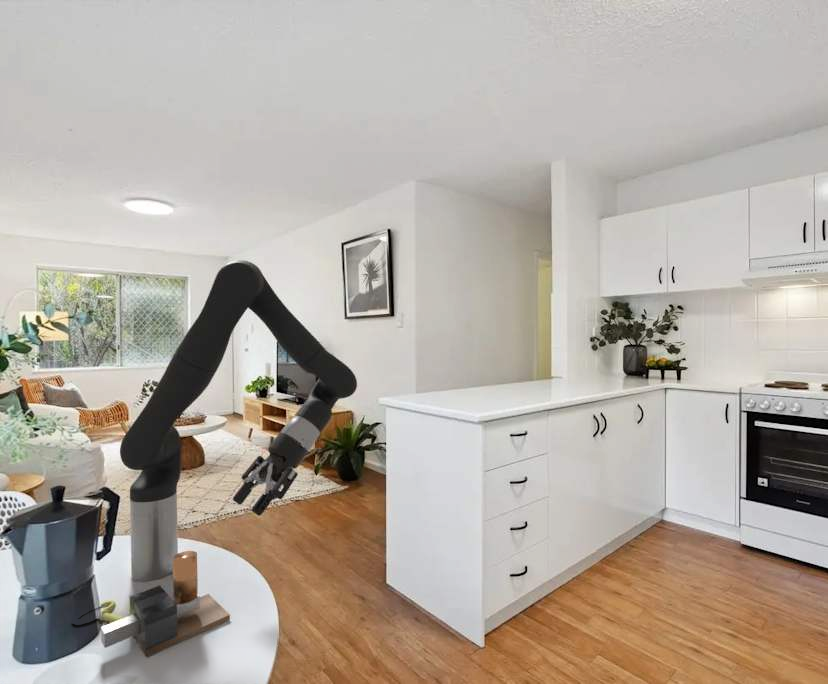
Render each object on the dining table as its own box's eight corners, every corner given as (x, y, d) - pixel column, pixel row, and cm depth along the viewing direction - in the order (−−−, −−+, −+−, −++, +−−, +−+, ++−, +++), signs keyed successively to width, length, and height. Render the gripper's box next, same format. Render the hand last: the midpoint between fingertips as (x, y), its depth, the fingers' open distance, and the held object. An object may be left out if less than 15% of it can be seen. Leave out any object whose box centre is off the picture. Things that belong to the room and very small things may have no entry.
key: (124, 632, 84) (124, 621, 84) (65, 627, 86) (65, 615, 86) (152, 609, 91) (152, 598, 91) (97, 604, 93) (97, 594, 93)
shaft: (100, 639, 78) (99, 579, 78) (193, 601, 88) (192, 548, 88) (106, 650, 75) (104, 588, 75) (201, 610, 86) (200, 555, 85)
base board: (129, 630, 83) (129, 625, 83) (208, 598, 93) (208, 593, 93) (146, 657, 76) (146, 651, 76) (229, 619, 86) (229, 614, 86)
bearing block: (130, 626, 83) (129, 596, 83) (160, 614, 87) (160, 585, 87) (145, 650, 77) (144, 617, 77) (177, 636, 80) (176, 604, 80)
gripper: (267, 426, 105) (217, 489, 97) (301, 436, 95) (248, 507, 87) (288, 446, 108) (242, 508, 101) (323, 456, 98) (275, 526, 91)
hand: (245, 507), depth 94 cm, fingers open, 8 cm apart
